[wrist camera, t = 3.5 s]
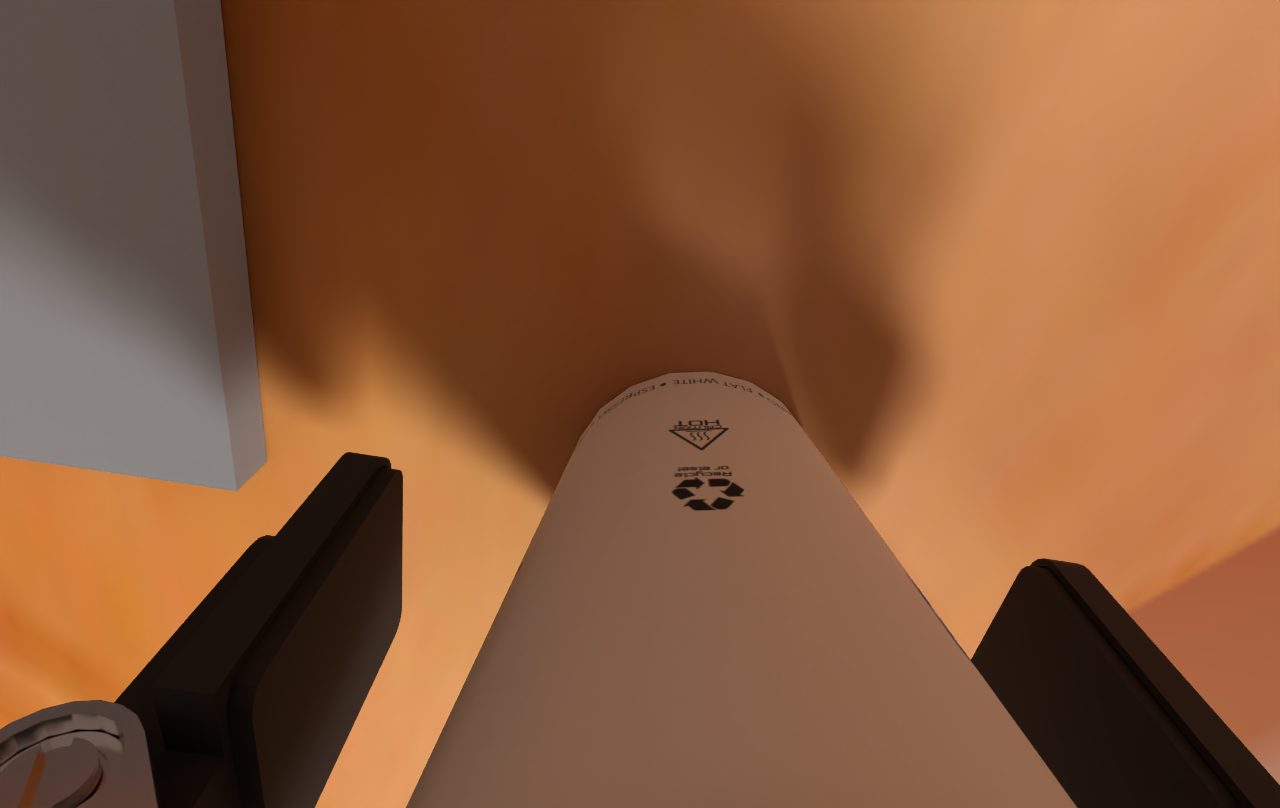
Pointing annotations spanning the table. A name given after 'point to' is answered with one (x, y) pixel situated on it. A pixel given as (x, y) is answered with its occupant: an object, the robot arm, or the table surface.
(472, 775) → the coffee cup
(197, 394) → the desk mat
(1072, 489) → the table surface
